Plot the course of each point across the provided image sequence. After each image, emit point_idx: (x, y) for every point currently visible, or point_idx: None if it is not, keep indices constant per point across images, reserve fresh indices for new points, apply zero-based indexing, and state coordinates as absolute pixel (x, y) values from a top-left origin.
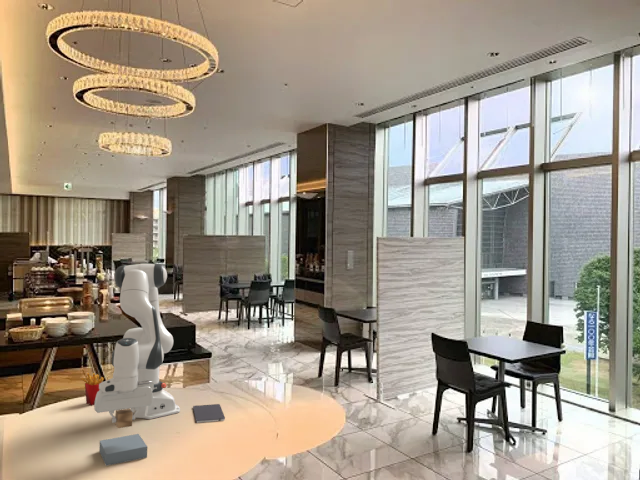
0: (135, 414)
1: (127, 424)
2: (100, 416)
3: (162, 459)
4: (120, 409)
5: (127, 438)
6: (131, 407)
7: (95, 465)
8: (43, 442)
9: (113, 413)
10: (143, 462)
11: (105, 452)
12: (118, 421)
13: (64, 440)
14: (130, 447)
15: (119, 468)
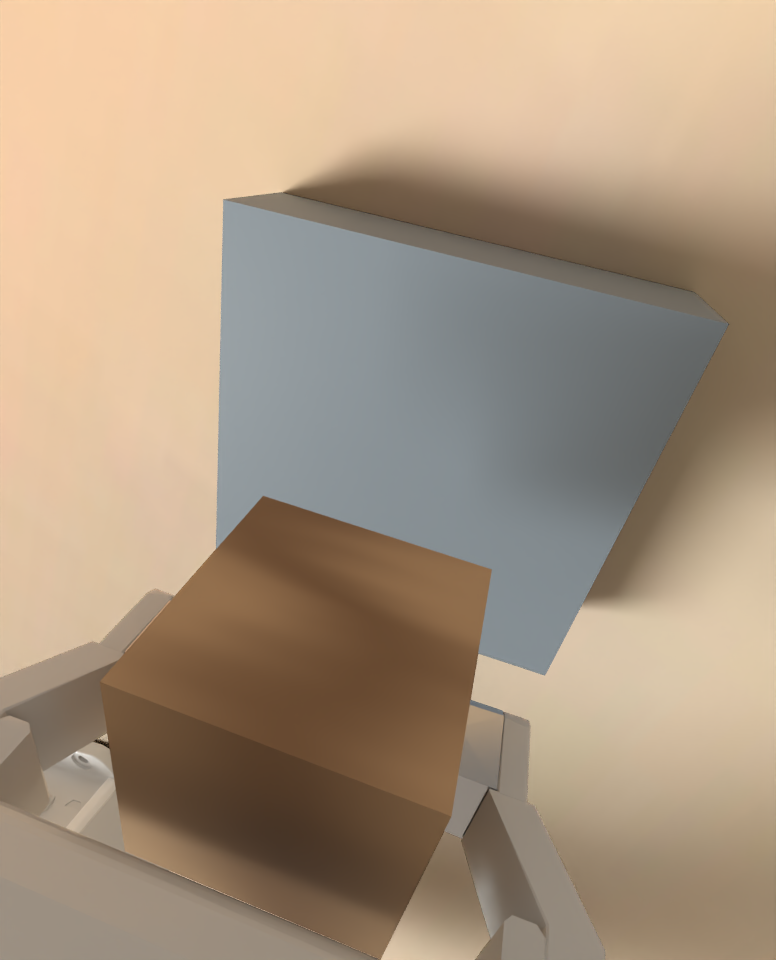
0: (92, 649)
1: (318, 543)
2: None
3: (161, 5)
4: (338, 951)
5: None
6: (31, 842)
7: (757, 379)
8: (719, 920)
9: (518, 918)
10: (354, 78)
11: (694, 386)
12: (464, 657)
13: (612, 864)
14: (395, 316)
15: (635, 102)
